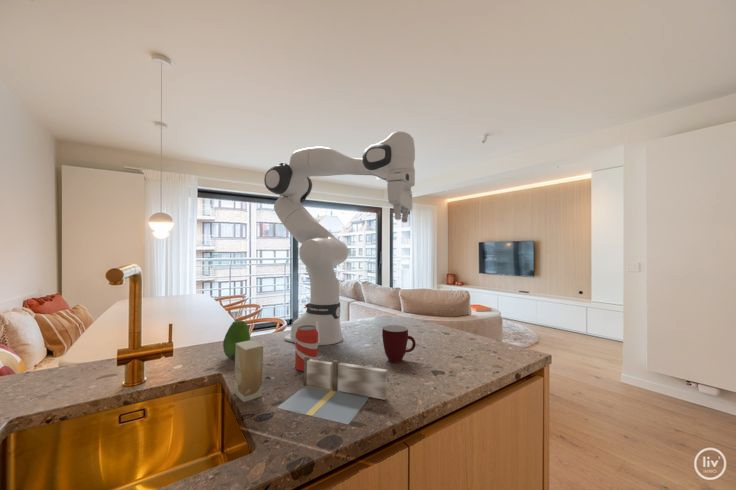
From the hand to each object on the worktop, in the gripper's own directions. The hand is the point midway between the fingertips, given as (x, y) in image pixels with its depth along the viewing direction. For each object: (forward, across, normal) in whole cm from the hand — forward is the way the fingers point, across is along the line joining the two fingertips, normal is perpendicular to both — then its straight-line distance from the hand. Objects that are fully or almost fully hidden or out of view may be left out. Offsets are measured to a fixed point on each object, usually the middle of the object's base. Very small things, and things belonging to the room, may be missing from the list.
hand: (401, 221), depth 102 cm
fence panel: (+44, +33, -1) cm, 55 cm away
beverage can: (+45, +23, -22) cm, 55 cm away
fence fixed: (+44, +33, -12) cm, 56 cm away
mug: (+45, +6, +1) cm, 45 cm away
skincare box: (+45, +42, -26) cm, 67 cm away
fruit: (+45, +24, -47) cm, 69 cm away
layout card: (+45, +37, -8) cm, 59 cm away
